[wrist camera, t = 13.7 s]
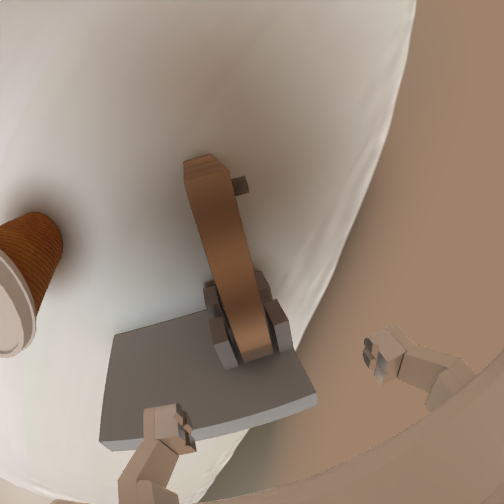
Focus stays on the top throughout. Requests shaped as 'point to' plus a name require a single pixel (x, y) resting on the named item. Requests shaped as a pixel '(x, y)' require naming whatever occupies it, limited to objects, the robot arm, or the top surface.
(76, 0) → the top surface
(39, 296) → the disposable coffee cup
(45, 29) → the top surface
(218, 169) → the walnut door
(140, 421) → the cabinet side
